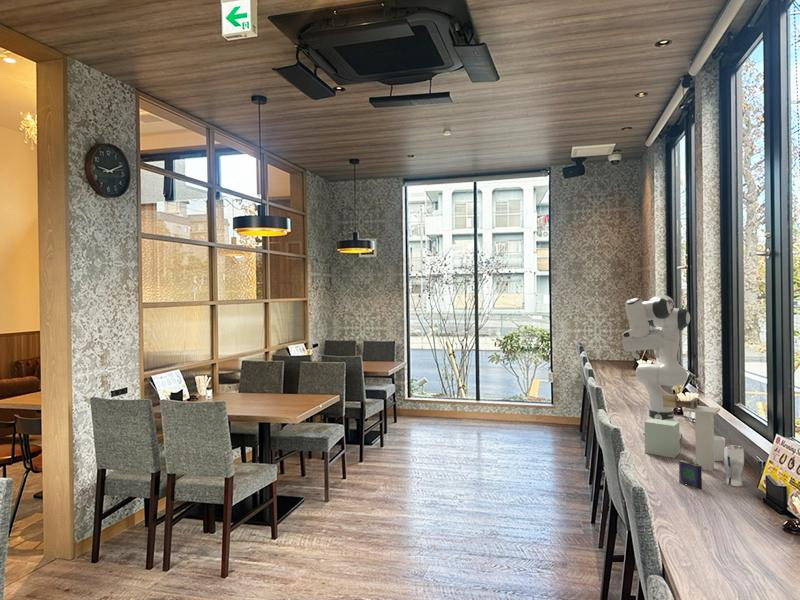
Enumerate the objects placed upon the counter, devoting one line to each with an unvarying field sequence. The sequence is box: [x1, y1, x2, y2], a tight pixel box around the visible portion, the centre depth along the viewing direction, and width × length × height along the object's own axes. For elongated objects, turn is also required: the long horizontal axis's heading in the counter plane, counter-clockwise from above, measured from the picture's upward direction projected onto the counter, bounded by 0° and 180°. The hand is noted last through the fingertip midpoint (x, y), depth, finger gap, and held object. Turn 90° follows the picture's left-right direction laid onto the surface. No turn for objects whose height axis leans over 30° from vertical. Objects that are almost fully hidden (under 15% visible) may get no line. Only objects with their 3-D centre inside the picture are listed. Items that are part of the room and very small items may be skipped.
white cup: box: [714, 435, 726, 462], centre depth 243 cm, size 8×8×10 cm
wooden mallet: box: [662, 393, 698, 408], centre depth 236 cm, size 5×13×5 cm, turn 50°
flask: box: [678, 458, 703, 490], centre depth 209 cm, size 9×3×11 cm, turn 26°
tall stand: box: [683, 397, 721, 472], centre depth 231 cm, size 12×12×30 cm
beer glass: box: [723, 444, 745, 488], centre depth 209 cm, size 7×7×15 cm
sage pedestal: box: [644, 418, 681, 459], centre depth 253 cm, size 10×13×15 cm
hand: (647, 358), depth 258 cm, fingers open, 8 cm apart
